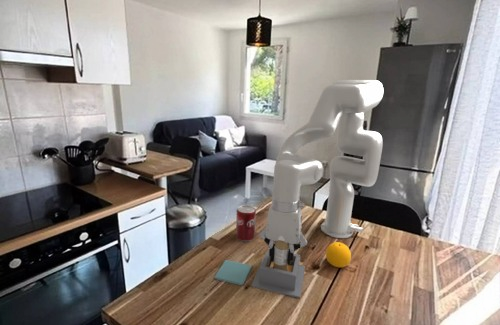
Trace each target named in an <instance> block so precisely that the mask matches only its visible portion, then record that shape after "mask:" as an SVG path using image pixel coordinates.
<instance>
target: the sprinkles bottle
mask: <svg viewBox="0 0 500 325" xmlns="http://www.w3.org/2000/svg"><path fill="white" fill-rule="evenodd" d="M284 241H285V240H284V237H283V236H280V237H279V238H278V241H275V242H274V243H275V247H274V265H273V268H275V269H279V270H284V271H288V269H287V267H288V264H287V262H288V252H289V249H290V247H289V243H285V242H284Z"/></svg>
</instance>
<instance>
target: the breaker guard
mask: <svg viewBox="0 0 500 325" xmlns="http://www.w3.org/2000/svg"><path fill="white" fill-rule="evenodd" d="M269 250H270V248H267V251H266V253H265V255H264V256H263V258H262V260H261V262H260V265H259V267H258V269H257V271H256V273H255V276H254V277H253V278H254V279H253V281H252V283H251V287H252V288H256V289H259V290H264V291H268V292H272V293H276V294H279V295H285V296H287V297H288V296H289V297H292V298H295V299H301V296H302V295H301V294H302V290H303V284H304V279H305V278H304V277H305V271H306V266H305V265H303V264H302V265H301V264H300V262H301V254H297V253H294V257H293V261H291V262H290V265H291V266H293V271H292V272H288V271H284V270H279V269H275V268H270V265H271V262H274V260H273V261H271V256H269ZM288 265H289V264H288Z"/></svg>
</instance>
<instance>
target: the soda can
mask: <svg viewBox="0 0 500 325" xmlns="http://www.w3.org/2000/svg"><path fill="white" fill-rule="evenodd" d="M256 216H257V210H256V208H255V207H254V206H252V205H247V204H246V205H244V204H243V205H239V206H238V207H237V208H236V219H235V220H236V222H235V224H236V225H235V227H236V228H235V238H236V239H237V240H239V241H240V242H244V243H245V242H251V241H252V240H254V239H255V237H256V220H257V217H256Z"/></svg>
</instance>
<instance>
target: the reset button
mask: <svg viewBox="0 0 500 325" xmlns="http://www.w3.org/2000/svg"><path fill="white" fill-rule="evenodd" d="M273 265H274V262H271V265H270V268H273ZM287 269H288V272H292V271H293V266H291V265H288V267H287Z"/></svg>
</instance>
